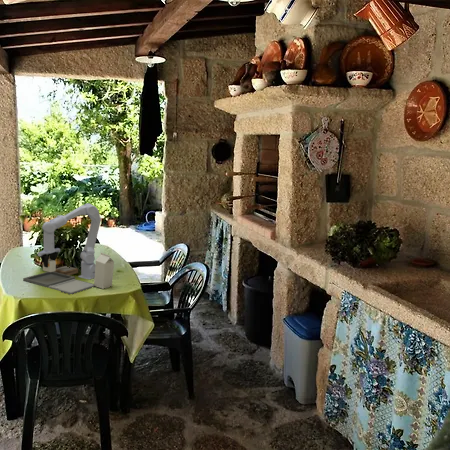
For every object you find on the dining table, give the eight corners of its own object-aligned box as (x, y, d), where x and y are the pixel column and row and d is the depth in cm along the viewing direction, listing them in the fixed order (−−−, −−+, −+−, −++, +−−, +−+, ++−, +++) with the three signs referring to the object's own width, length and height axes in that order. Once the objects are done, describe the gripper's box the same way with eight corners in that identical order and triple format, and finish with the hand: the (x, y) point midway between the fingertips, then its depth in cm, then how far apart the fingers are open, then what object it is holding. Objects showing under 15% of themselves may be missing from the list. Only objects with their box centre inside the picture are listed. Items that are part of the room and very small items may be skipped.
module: (55, 270, 290) (55, 260, 289) (49, 272, 286) (50, 261, 285) (48, 269, 293) (48, 259, 292) (42, 270, 289) (42, 260, 288)
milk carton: (102, 289, 280) (105, 256, 276) (93, 285, 284) (96, 253, 279) (112, 286, 286) (114, 254, 282) (103, 282, 290) (105, 251, 285)
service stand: (77, 273, 308) (77, 268, 307) (65, 277, 299) (65, 271, 299) (66, 270, 313) (66, 265, 312) (53, 274, 304) (53, 268, 304)
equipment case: (97, 285, 286) (97, 282, 285) (70, 294, 269) (70, 291, 268) (51, 274, 304) (51, 270, 304) (23, 281, 287) (23, 278, 286)
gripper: (54, 239, 295) (54, 262, 297) (33, 244, 282) (34, 267, 285) (62, 241, 291) (62, 264, 294) (42, 245, 279) (42, 269, 281)
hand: (49, 266), depth 289 cm, fingers closed on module, 4 cm apart
